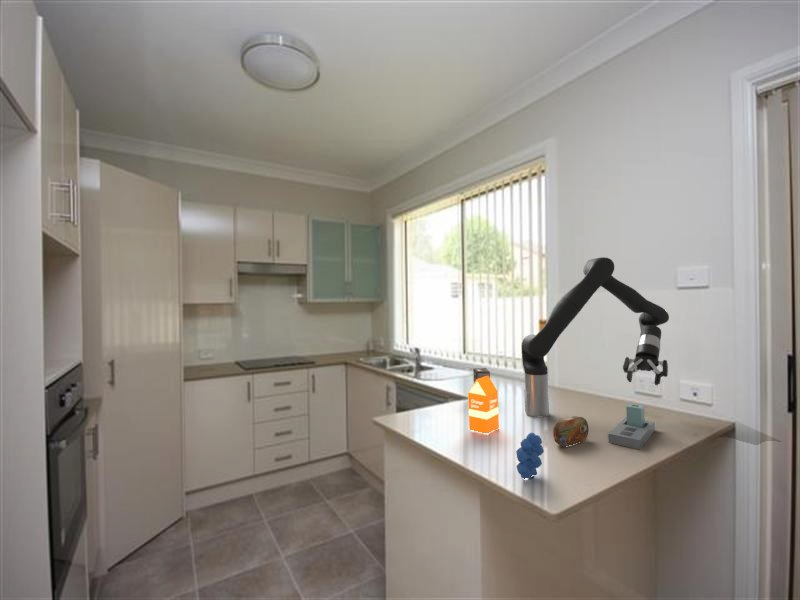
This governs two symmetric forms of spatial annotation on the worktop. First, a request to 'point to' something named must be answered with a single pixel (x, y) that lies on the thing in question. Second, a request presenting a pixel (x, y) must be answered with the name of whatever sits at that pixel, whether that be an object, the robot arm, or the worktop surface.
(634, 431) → the power strip
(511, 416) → the worktop surface
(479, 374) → the coffee box
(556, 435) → the tin
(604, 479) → the worktop surface
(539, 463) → the grapes
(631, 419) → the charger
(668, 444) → the worktop surface
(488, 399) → the orange juice
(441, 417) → the worktop surface
